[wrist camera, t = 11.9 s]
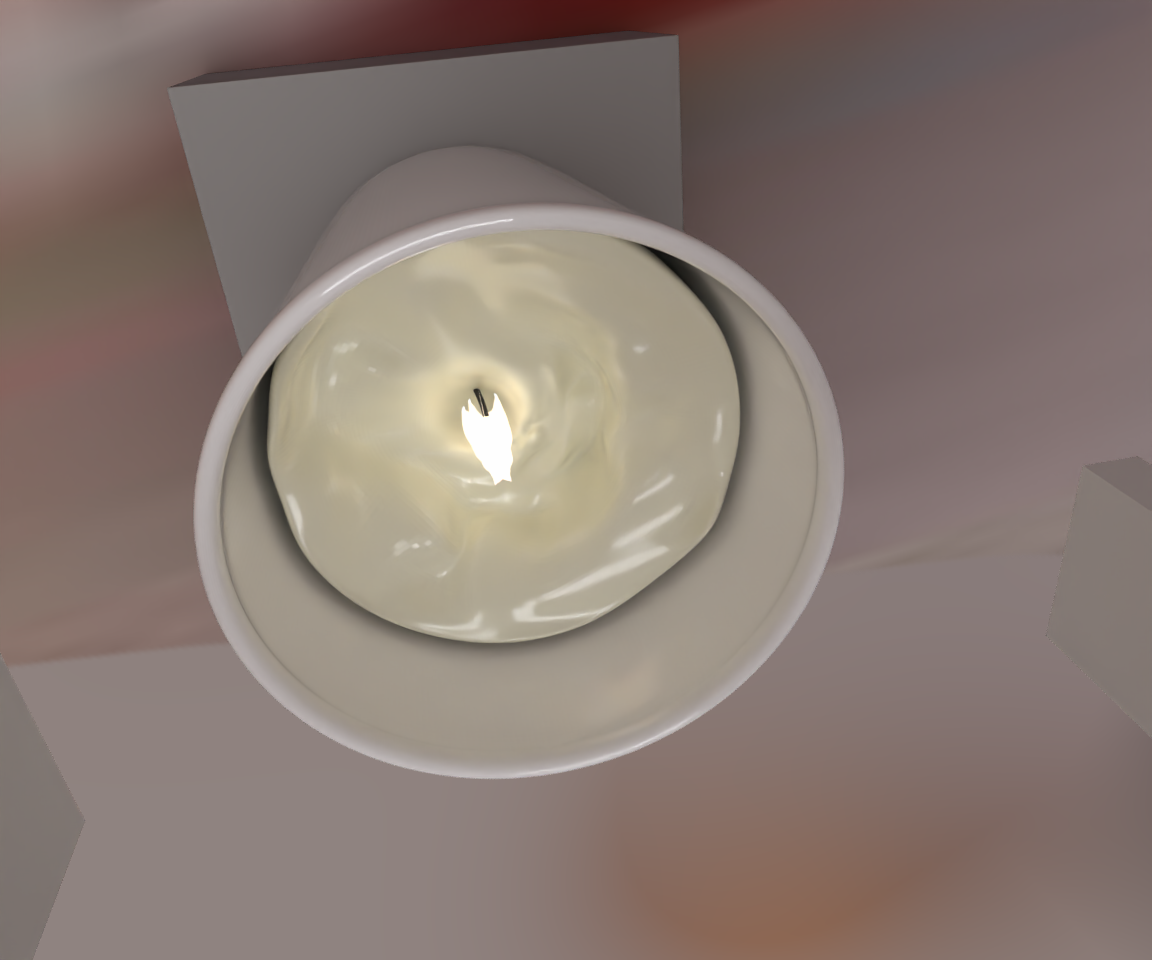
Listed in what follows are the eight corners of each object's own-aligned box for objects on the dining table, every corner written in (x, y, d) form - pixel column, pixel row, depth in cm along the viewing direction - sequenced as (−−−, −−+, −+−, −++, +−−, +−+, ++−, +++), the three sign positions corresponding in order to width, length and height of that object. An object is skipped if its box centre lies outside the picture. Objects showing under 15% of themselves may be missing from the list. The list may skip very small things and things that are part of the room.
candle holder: (210, 362, 23) (69, 653, 13) (409, 19, 20) (435, 32, 10) (519, 524, 27) (603, 846, 17) (720, 255, 24) (970, 441, 14)
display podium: (629, 30, 26) (678, 35, 22) (647, 406, 32) (689, 468, 27) (204, 74, 25) (166, 87, 20) (305, 460, 30) (292, 535, 26)
